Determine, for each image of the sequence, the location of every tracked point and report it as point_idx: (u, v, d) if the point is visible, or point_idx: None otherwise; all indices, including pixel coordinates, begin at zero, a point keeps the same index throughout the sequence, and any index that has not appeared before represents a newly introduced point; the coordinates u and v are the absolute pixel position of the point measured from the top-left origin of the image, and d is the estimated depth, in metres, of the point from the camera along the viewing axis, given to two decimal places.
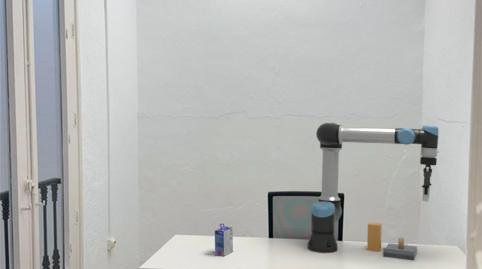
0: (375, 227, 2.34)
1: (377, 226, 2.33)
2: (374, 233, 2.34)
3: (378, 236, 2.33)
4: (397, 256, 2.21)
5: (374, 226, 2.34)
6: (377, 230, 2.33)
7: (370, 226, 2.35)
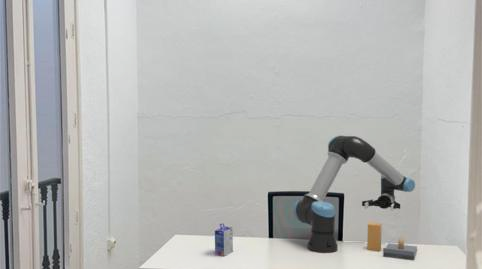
0: (375, 227, 2.34)
1: (377, 226, 2.33)
2: (374, 233, 2.34)
3: (378, 236, 2.33)
4: (397, 256, 2.21)
5: (374, 226, 2.34)
6: (377, 230, 2.33)
7: (370, 226, 2.35)
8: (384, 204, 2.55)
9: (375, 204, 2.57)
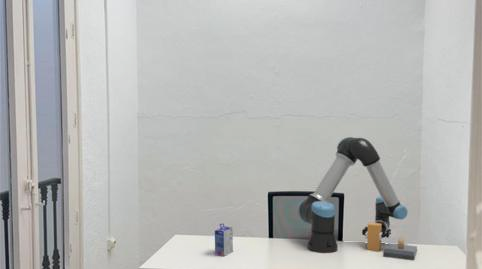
0: (375, 227, 2.34)
1: (377, 226, 2.33)
2: (374, 233, 2.34)
3: (378, 236, 2.33)
4: (397, 256, 2.21)
5: (374, 226, 2.34)
6: (377, 230, 2.33)
7: (370, 226, 2.35)
8: None
9: None
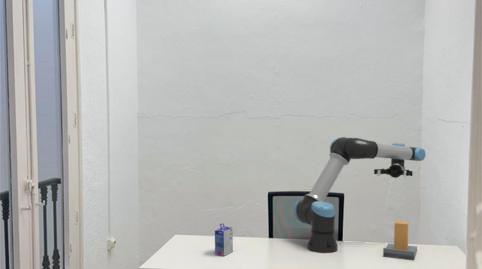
0: (402, 226, 2.28)
1: (404, 225, 2.28)
2: (401, 232, 2.29)
3: (405, 235, 2.28)
4: (397, 256, 2.21)
5: (401, 225, 2.29)
6: (404, 229, 2.28)
7: (397, 225, 2.29)
8: (396, 172, 2.58)
9: (387, 172, 2.59)
